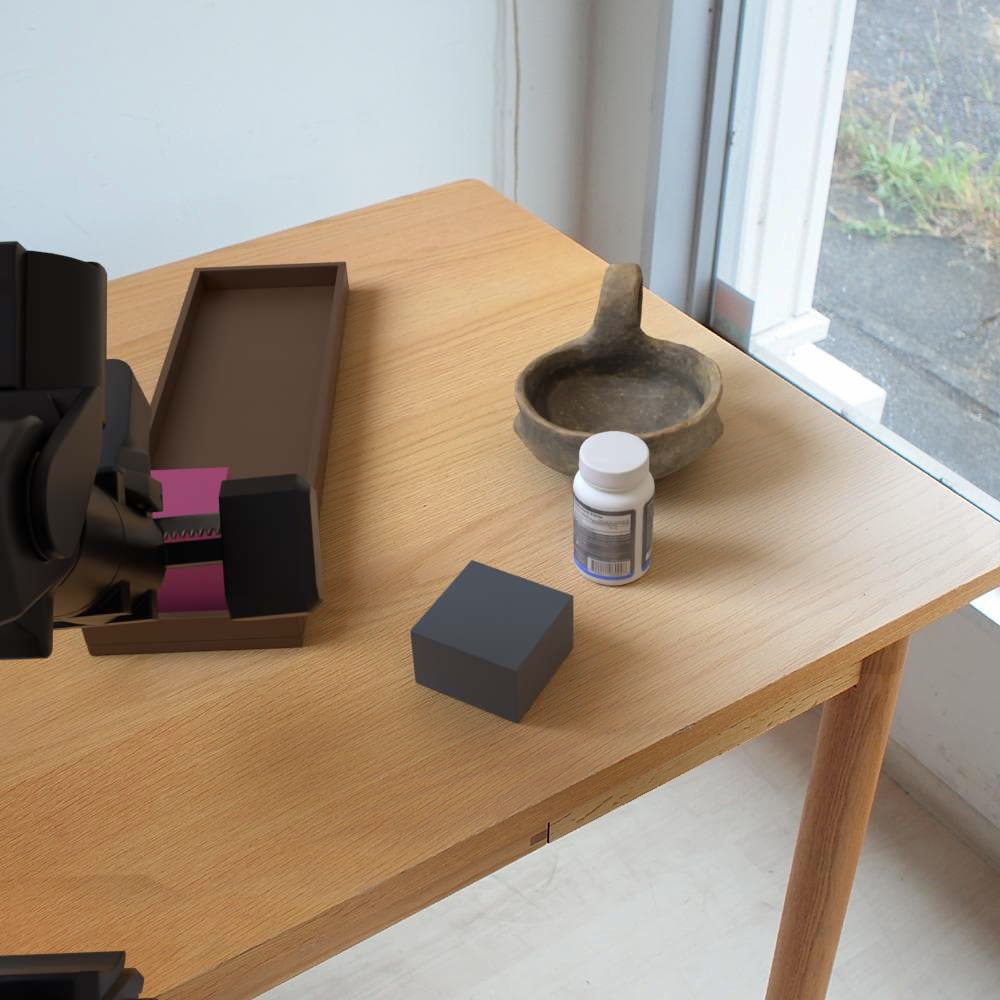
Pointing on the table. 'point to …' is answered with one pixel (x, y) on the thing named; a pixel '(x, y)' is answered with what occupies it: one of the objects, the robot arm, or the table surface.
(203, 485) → the mulberry block
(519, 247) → the table surface
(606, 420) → the bowl
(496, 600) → the slate block
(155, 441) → the tray
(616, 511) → the pill bottle
